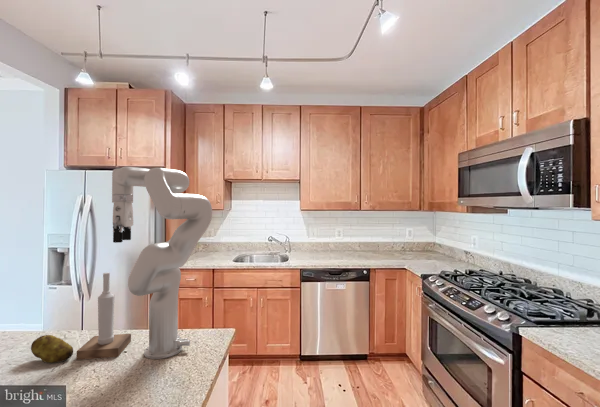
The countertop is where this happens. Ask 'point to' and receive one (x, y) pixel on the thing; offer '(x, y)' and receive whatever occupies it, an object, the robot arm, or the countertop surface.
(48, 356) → the potato
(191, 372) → the countertop surface
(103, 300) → the bottle
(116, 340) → the walnut plinth
